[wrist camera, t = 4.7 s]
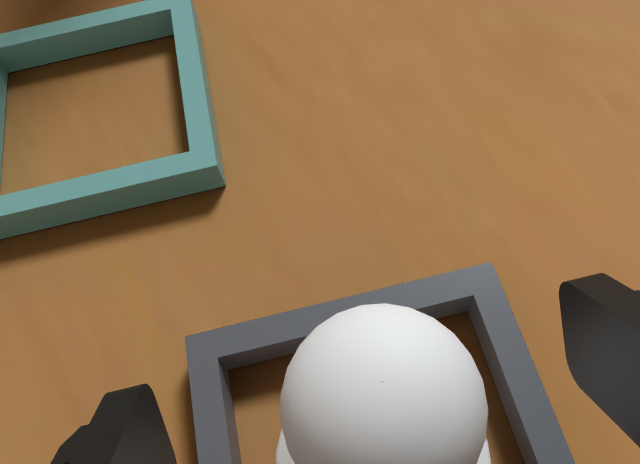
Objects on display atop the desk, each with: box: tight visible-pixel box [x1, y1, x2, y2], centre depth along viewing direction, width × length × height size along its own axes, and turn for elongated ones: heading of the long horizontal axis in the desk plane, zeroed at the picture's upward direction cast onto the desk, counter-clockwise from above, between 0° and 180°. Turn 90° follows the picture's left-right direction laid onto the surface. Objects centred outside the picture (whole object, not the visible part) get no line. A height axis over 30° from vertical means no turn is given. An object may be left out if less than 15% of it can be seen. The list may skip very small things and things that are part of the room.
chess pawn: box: [275, 303, 491, 464], centre depth 11 cm, size 5×5×9 cm
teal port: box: [0, 0, 226, 239], centre depth 21 cm, size 9×9×1 cm
